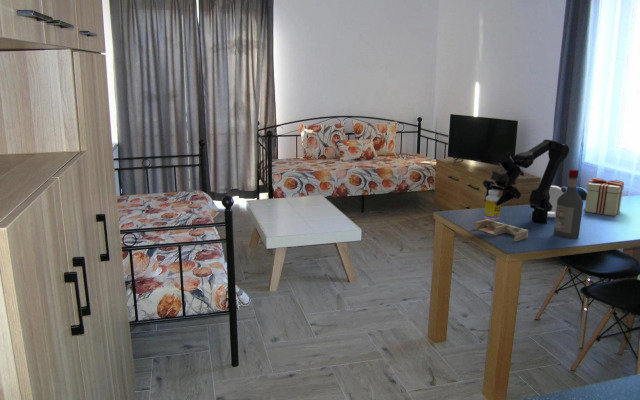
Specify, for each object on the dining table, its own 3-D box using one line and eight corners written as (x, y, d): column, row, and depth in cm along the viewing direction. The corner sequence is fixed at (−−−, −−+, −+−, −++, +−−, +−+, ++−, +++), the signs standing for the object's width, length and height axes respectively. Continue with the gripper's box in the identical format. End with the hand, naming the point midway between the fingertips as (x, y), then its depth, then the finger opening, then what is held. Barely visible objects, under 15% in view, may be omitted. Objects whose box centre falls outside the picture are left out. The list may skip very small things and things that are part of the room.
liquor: (566, 239, 234) (575, 172, 227) (550, 234, 242) (557, 168, 235) (581, 237, 238) (590, 171, 230) (565, 231, 246) (573, 167, 238)
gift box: (620, 209, 285) (625, 177, 281) (618, 217, 270) (622, 183, 265) (585, 204, 294) (589, 174, 289) (581, 212, 279) (585, 179, 274)
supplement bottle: (494, 221, 240) (496, 193, 237) (481, 218, 245) (483, 190, 242) (502, 218, 244) (504, 191, 241) (489, 215, 249) (491, 188, 246)
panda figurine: (563, 213, 276) (567, 184, 273) (562, 218, 267) (565, 189, 263) (539, 210, 282) (542, 182, 278) (536, 215, 272) (539, 186, 268)
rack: (527, 237, 237) (528, 230, 236) (516, 241, 232) (516, 233, 231) (486, 226, 254) (486, 219, 253) (474, 229, 248) (475, 222, 248)
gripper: (486, 162, 248) (467, 188, 246) (518, 169, 232) (498, 197, 230) (497, 177, 254) (478, 203, 252) (529, 185, 238) (509, 212, 236)
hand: (490, 203), depth 242 cm, fingers closed on supplement bottle, 7 cm apart
